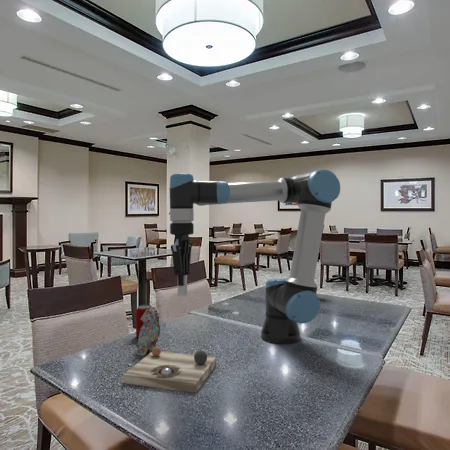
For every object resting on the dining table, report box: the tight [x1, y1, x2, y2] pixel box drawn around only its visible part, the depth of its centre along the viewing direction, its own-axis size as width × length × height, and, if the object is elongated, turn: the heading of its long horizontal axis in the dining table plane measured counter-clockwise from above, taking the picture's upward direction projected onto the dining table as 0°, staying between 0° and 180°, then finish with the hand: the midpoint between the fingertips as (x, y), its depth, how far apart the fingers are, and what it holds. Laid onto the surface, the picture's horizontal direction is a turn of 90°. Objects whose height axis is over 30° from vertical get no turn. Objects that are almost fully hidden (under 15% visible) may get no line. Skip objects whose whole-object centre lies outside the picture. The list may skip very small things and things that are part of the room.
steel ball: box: [161, 368, 172, 375], centre depth 104 cm, size 3×3×3 cm
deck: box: [122, 350, 217, 394], centre depth 108 cm, size 19×22×2 cm
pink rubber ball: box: [152, 345, 162, 356], centre depth 116 cm, size 3×3×3 cm
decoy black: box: [193, 350, 208, 365], centre depth 109 cm, size 4×4×4 cm
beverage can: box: [135, 304, 153, 338], centre depth 142 cm, size 7×7×12 cm
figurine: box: [135, 306, 161, 357], centre depth 127 cm, size 9×9×15 cm
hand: (182, 295), depth 116 cm, fingers closed
